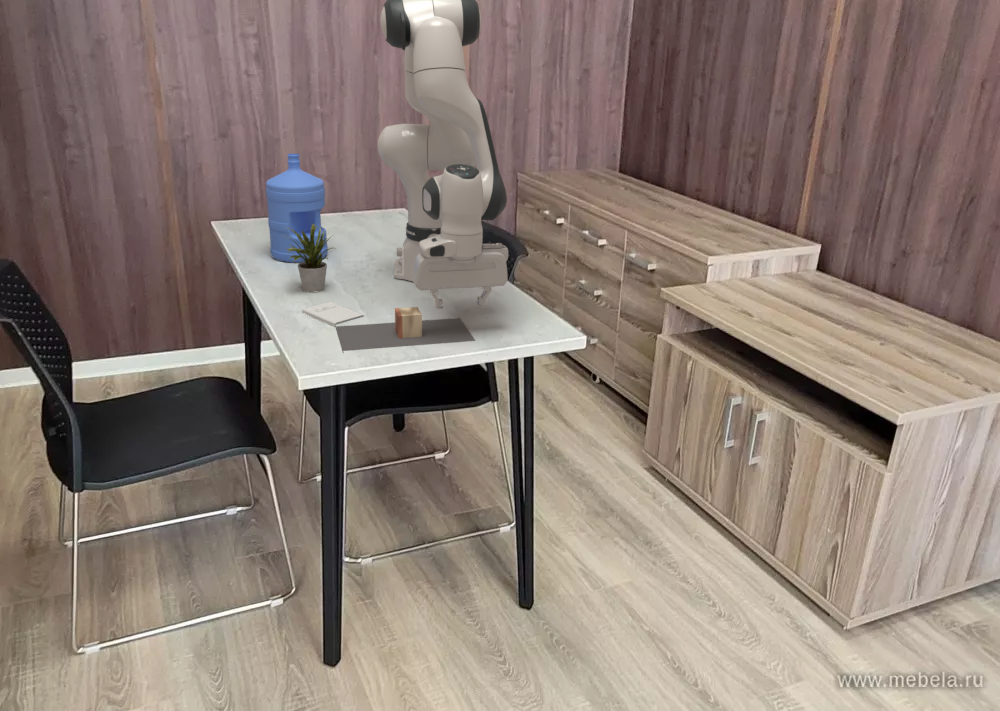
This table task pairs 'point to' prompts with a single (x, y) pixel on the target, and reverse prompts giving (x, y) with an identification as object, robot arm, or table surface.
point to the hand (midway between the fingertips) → (460, 306)
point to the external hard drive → (331, 313)
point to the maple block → (408, 322)
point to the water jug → (294, 209)
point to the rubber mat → (387, 337)
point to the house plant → (311, 260)
